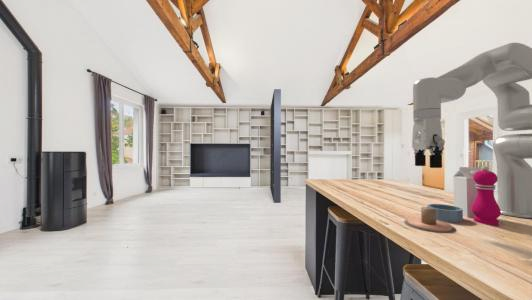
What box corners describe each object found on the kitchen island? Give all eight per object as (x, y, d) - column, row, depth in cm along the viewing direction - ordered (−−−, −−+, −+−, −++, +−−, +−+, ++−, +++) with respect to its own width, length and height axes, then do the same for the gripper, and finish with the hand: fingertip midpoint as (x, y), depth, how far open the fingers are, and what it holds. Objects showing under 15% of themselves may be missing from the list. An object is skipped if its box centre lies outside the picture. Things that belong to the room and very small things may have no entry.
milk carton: (453, 213, 88) (452, 166, 89) (473, 213, 87) (472, 166, 88) (467, 218, 81) (466, 167, 82) (489, 219, 80) (487, 167, 81)
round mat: (440, 221, 78) (440, 220, 79) (467, 236, 65) (467, 234, 65) (397, 219, 81) (397, 218, 81) (415, 233, 68) (415, 231, 68)
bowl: (451, 216, 85) (451, 204, 85) (470, 224, 75) (469, 211, 75) (422, 214, 87) (422, 203, 87) (437, 222, 77) (436, 210, 77)
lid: (438, 220, 78) (438, 205, 78) (461, 232, 66) (461, 214, 66) (401, 219, 80) (401, 203, 80) (417, 230, 68) (417, 212, 68)
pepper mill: (507, 227, 71) (506, 166, 72) (481, 226, 73) (480, 166, 73) (489, 220, 79) (488, 165, 79) (466, 219, 80) (465, 165, 80)
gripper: (403, 120, 83) (404, 165, 82) (427, 111, 66) (428, 168, 65) (425, 119, 81) (426, 165, 81) (456, 110, 64) (457, 168, 64)
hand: (427, 166), depth 73 cm, fingers open, 9 cm apart
